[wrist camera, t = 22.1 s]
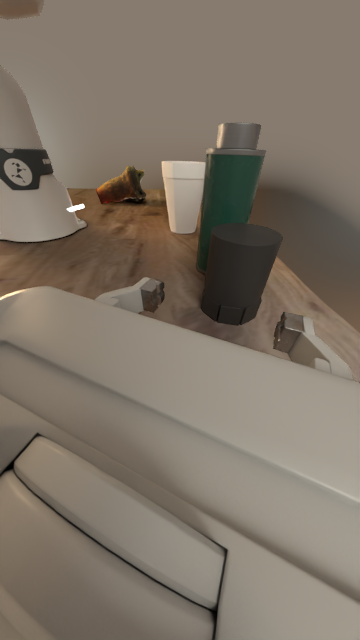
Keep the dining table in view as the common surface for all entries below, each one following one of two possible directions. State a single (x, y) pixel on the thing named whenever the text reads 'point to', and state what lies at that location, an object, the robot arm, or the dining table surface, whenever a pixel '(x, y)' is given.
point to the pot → (123, 187)
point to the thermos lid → (238, 271)
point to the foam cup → (183, 193)
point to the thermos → (229, 182)
